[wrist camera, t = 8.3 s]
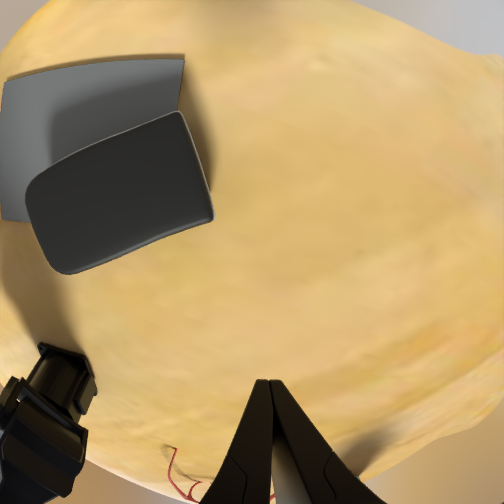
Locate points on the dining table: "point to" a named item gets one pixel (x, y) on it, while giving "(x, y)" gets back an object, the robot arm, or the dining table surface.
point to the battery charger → (119, 195)
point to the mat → (75, 115)
